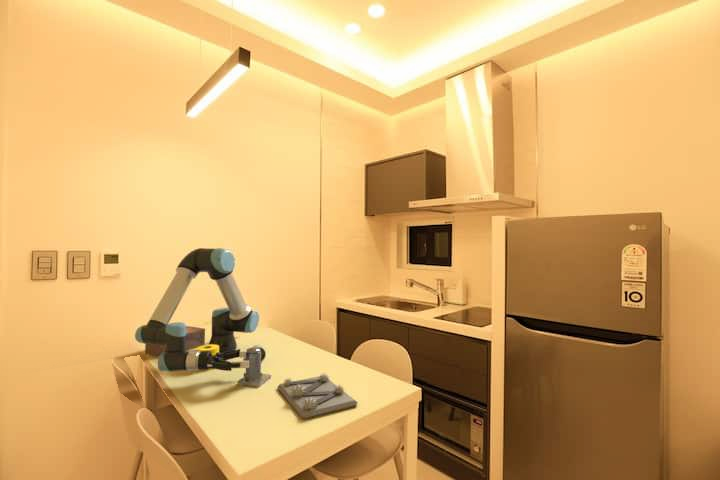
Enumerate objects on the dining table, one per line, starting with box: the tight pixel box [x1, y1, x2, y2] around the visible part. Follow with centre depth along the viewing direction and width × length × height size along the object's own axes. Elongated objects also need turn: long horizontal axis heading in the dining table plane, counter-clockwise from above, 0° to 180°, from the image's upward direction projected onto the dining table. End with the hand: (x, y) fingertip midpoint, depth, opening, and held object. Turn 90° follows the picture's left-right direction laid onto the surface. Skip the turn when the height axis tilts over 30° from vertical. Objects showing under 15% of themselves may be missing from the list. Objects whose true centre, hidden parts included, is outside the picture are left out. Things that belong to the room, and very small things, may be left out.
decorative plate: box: [276, 372, 358, 420], centre depth 130 cm, size 30×22×7 cm
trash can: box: [243, 347, 263, 380], centre depth 145 cm, size 8×6×12 cm
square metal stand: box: [237, 373, 272, 388], centre depth 144 cm, size 10×10×10 cm
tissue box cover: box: [144, 325, 206, 358], centre depth 189 cm, size 26×14×10 cm, turn 156°
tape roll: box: [195, 344, 219, 372], centre depth 161 cm, size 10×10×9 cm
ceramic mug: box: [242, 344, 267, 363], centre depth 171 cm, size 11×8×8 cm
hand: (252, 358), depth 144 cm, fingers open, 13 cm apart
